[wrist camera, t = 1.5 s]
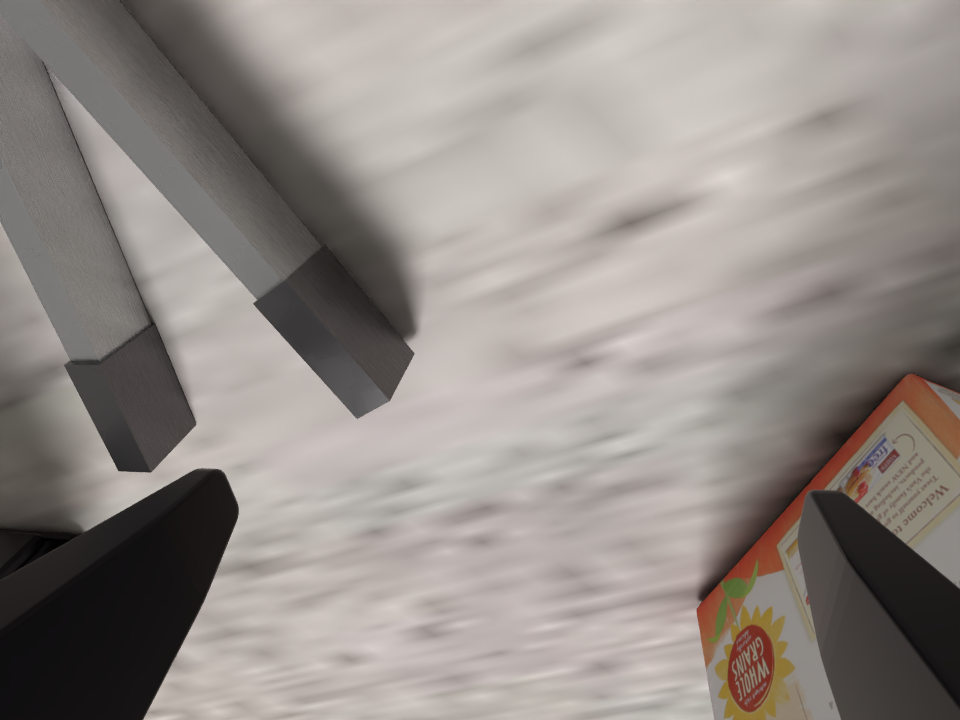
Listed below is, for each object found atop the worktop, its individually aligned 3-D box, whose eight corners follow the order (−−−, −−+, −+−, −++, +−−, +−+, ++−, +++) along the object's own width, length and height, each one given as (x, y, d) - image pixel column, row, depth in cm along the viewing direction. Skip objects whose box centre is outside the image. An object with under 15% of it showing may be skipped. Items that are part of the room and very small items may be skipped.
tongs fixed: (207, 424, 27) (163, 472, 24) (155, 423, 27) (106, 470, 25) (-49, -212, 16) (-178, -253, 14) (-124, -195, 17) (-263, -230, 14)
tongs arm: (414, 353, 22) (383, 413, 19) (343, 395, 24) (303, 456, 21) (-39, -198, 16) (-199, -247, 13) (-96, -93, 18) (-251, -112, 14)
